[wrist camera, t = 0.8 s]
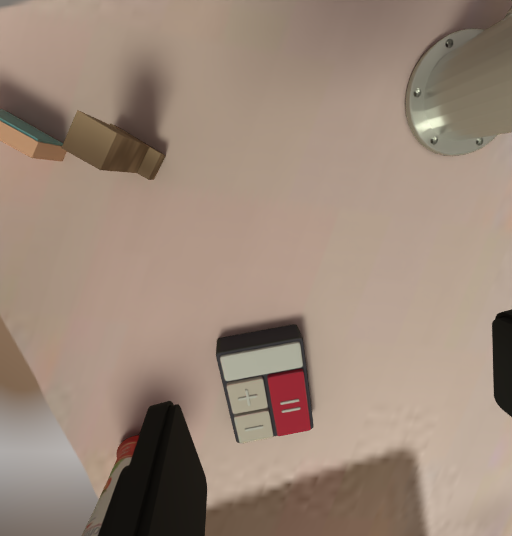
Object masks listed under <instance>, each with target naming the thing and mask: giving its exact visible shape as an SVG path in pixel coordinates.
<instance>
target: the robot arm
mask: <svg viewBox="0 0 512 536" xmlns="http://www.w3.org/2000/svg"><path fill="white" fill-rule="evenodd" d="M414 94H415V96H414ZM405 105H406V116H407V120H408V124H409V127H410V129H411V131H412V133H413V135H414V136H415V138H416V139H417V140H418V141H419V143H420V144H422V145H423V146H424V147H425V148H426V149H428V150H430V151H432V152H434V153H436V154H440V155H444V156H456V155H464V154H468V153H471V152H474V151H476V150H478V149H481V148H482V147H484V146H485V145H487V144H488V143H489V142H491V141H492V140H493V139H494V138H495V137H496V136H497V135H499V134H505V133H510V132H512V7H511V8H510V10H509V11H508V13H507V14H506V16H505V19H503V20H501V21H500V22H498V23H496V24H494V25H493V26H491V27H489V28H488V29H486V30H483V29H474V28H470V29H464V30H459V31H457V32H454V33H452V34H449V35H448V36H446V37H444V38H443V39H441V40H440V41H438V42H437V43H436V44H435V45H433V46H432V47H431V48H429V50H428V51H427V52H426V53H425V54H424V55H423V56H422V57H421V59H420V60H419V62H418V64H417V65H416V67H415V68H414V71H413V73H412V75H411V78H410V80H409V84H408V88H407V92H406V103H405ZM430 140H431V141H430ZM492 338H493V378H494V398H495V400H496V402H497V404H498V405H499V406H500V408H501V409H503V410H504V411H505V412H506V413H507V414H509V415H510V416H511V417H512V310H508V311H504V312H501V313H499V314H497V316H496V318H495V320H494V321H493V323H492ZM206 501H207V483H206V477H205V474H204V471H203V468H202V466H201V463H200V460H199V457H198V454H197V452H196V449H195V446H194V443H193V441H192V438H191V435H190V432H189V430H188V427H187V424H186V421H185V418H184V416H183V413H182V410H181V408H180V406H179V405H178V404H177V405H173V403H172V402H171V401H167V402H164V403H160V404H156V405H152V406H150V407H149V409H148V411H147V414H146V417H145V420H144V423H143V426H142V429H141V432H140V435H139V438H138V441H137V444H136V447H135V449H134V452H133V455H132V458H131V461H130V464H129V465H128V466H125V467H124V468H123V469H122V471H121V473H120V475H119V478H118V481H117V483H116V486H115V489H114V492H113V494H112V497H111V500H110V503H109V506H108V508H107V511H106V514H105V517H104V519H103V522H102V525H101V528H100V531H99V533H98V536H205V520H206Z"/></svg>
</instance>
